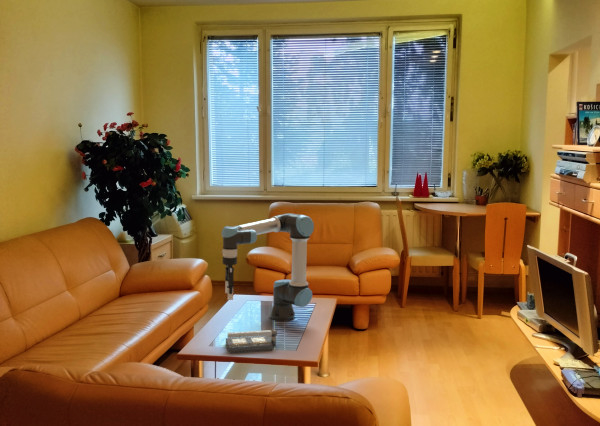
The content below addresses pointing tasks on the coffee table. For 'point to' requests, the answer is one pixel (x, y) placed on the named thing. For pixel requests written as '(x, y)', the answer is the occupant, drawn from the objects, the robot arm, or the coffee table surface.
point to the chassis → (250, 344)
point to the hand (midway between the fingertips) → (228, 296)
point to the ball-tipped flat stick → (253, 333)
